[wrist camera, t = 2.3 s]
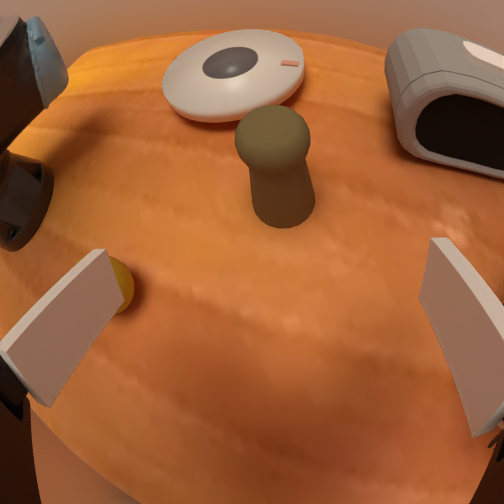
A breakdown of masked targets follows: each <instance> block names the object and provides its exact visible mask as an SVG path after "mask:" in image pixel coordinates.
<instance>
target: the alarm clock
mask: <svg viewBox="0 0 504 504" xmlns="http://www.w3.org/2000/svg"><path fill="white" fill-rule="evenodd" d="M385 75H386V80H387V84H388V89H389V93H390V98H391V103H392V108H393V114H394V119H395V125H396V132H397V138H398V140H399V142H400V143H401V145H402V146H403V148H404V149H405V150H407V151H408V152H409V153H411V154H412V155H413V156H415V157H417V158H421V159H422V160H428V161H432V162H435V163H438V164H443V165H447V166H452V167H457V168H461V169H465V170H469V171H473V172H477V173H481V174H485V175H489V176H492V177H496V178H501V179H504V54H502V53H500V52H498V51H495V50H493V49H491V48H488V47H486V46H484V45H481V44H479V43H476V42H474V41H471V40H468V39H466V38H463V37H460V36H457V35H454V34H451V33H448V32H444V31H439V30H433V29H427V28H421V27H420V28H416V29H412V30H408V31H405V32H404V33H402V34H401V35H400V36H398V37H397V38H395V40H394V41H393V43H392V44H391V46H390V47H389V49H388V52H387V55H386V59H385Z"/></svg>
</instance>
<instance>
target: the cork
mask: <svg viewBox="0 0 504 504" xmlns="http://www.w3.org/2000/svg"><path fill="white" fill-rule="evenodd" d="M235 146H236V149H237V152H238V154H239V157H240V158H241V159H242V160H243V162H244V163H245V164H246V165H247V166H248V167H249V173H250V183H251V193H252V203H253V207H254V210H255V213H256V215H257V216H258V217H259V218H260V220H261V221H263V222H264V223H266V224H267V225H269V226H272V227H276V228H291V227H294V226H297V225H299V224H301V223H302V222H303V221H305V220H306V219H307V218H308V217H309V215H310V214H311V213H312V211H313V208H314V204H315V196H314V190H313V186H312V182H311V178H310V175H309V171H308V167H307V163H306V159H305V158H306V156H307V153H308V150H309V147H310V132H309V128H308V126H307V124H306V122H305V121H304V119H303V117H301V116H300V115H299V114H298V113H296V112H295V111H294V110H293V109H290V108H288V107H285V106H281V105H265V106H261V107H258V108H255V109H254V110H252V111H250V112H248V113H247V114H246V115H245V116H244V117H243V118H242V119H241V121H240V123H239V125H238V127H237V129H236V132H235Z"/></svg>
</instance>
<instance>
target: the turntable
mask: <svg viewBox="0 0 504 504" xmlns="http://www.w3.org/2000/svg"><path fill="white" fill-rule="evenodd" d="M304 74H305V68H304V55H303V52H302V50H301V48H300V46H299V45H298V44H297V43H296V42H295V41H293V40H292V39H291V38H289V37H287V36H285V35H282V34H280V33H277V32H273V31H268V30H259V29H246V30H236V31H230V32H225V33H222V34H218V35H215V36H212V37H209V38H207V39H204V40H202V41H200V42H198V43H196V44H195V45H193V46H191V47H189V48H188V49H187V50H185V51H184V52H182V53H181V54H180V55H179V56H178V57H177V58H176V59H175V60H174V61H173V62H172V63H171V64H170V65H169V67H168V69H167V70H166V72H165V74H164V77H163V80H162V90H163V93H164V95H165V97H166V99H167V100H168V102H169V104H170V106H171V107H172V108H173V110H174V111H175V112H177V113H178V114H179V115H181V116H183V117H185V118H188V119H190V120H194V121H199V122H208V123H219V122H229V121H235V120H241V119H242V118H243V117H244V116H245V115H246V114H247V113H248V112H250V111H252V110H254V109H255V108H258V107H261V106H265V105H279V104H281V103H282V102H284V101H285V100H287V99H288V98H289V97H290V96H292V95H293V94H294V93H295V91H296V90H297V89H298V88H299V86H300V85H301V83H302V81H303V78H304Z"/></svg>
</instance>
